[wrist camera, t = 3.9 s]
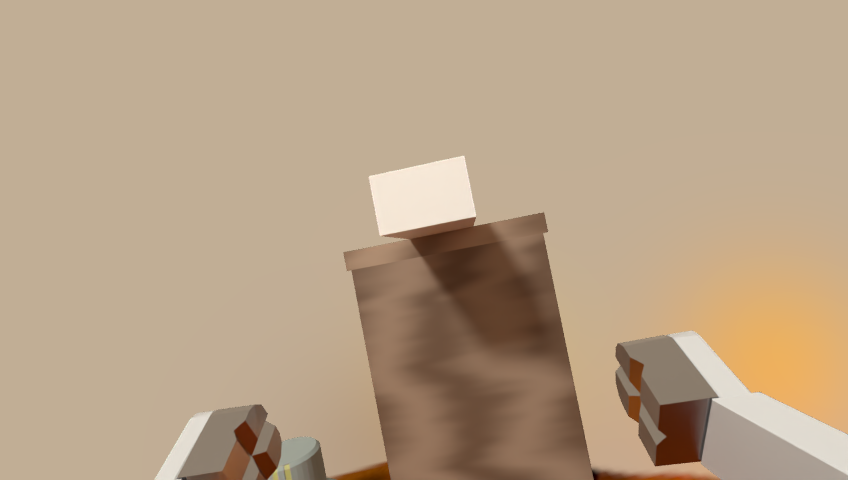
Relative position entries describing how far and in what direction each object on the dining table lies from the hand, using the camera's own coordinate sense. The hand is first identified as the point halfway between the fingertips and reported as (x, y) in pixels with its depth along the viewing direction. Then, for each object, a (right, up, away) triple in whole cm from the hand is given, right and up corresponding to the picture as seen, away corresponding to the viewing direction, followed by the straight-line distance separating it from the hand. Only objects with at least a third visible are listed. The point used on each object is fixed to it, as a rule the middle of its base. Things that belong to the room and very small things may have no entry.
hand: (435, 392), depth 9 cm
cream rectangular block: (+1, +4, +18) cm, 19 cm away
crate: (+7, -22, +22) cm, 31 cm away
